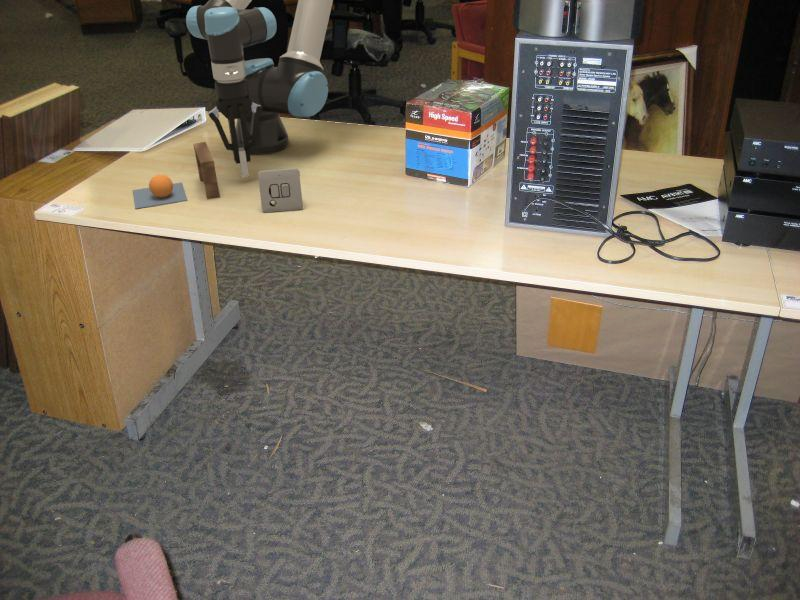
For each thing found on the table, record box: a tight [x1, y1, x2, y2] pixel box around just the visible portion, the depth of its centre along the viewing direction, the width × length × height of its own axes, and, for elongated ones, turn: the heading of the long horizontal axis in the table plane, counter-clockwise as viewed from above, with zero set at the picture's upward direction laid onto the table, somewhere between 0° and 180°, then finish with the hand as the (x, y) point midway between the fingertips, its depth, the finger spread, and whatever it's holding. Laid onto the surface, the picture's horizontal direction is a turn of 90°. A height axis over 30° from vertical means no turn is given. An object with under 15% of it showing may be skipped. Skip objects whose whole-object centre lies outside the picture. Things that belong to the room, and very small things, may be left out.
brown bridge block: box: [192, 141, 221, 200], centre depth 182 cm, size 3×14×9 cm, turn 20°
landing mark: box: [131, 182, 188, 210], centre depth 181 cm, size 12×12×1 cm
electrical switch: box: [257, 167, 304, 213], centre depth 171 cm, size 9×5×9 cm, turn 96°
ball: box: [148, 174, 174, 198], centre depth 179 cm, size 6×6×6 cm
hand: (244, 174), depth 185 cm, fingers closed
